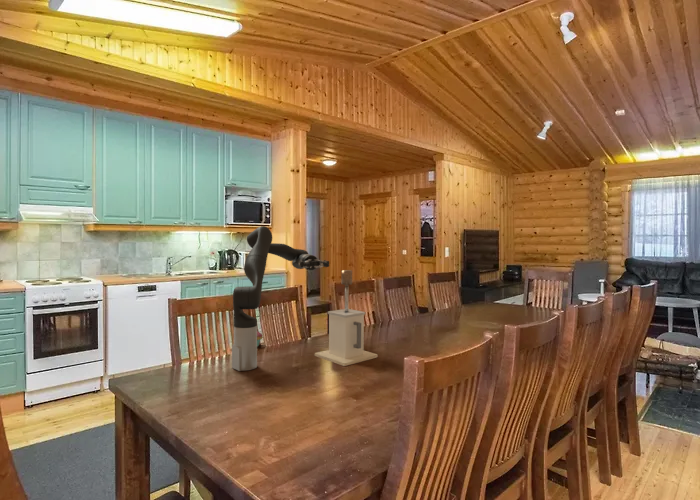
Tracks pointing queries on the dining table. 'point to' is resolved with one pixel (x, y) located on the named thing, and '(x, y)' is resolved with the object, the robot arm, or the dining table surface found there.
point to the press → (346, 338)
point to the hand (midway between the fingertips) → (318, 265)
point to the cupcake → (259, 337)
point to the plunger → (346, 284)
